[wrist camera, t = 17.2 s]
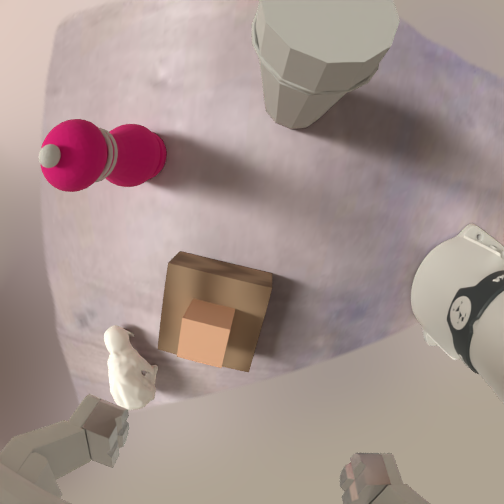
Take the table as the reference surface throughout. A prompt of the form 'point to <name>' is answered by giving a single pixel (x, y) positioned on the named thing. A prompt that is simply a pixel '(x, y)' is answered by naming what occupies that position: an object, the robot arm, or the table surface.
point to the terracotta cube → (205, 332)
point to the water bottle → (318, 52)
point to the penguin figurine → (128, 371)
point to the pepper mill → (100, 155)
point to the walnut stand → (216, 302)
